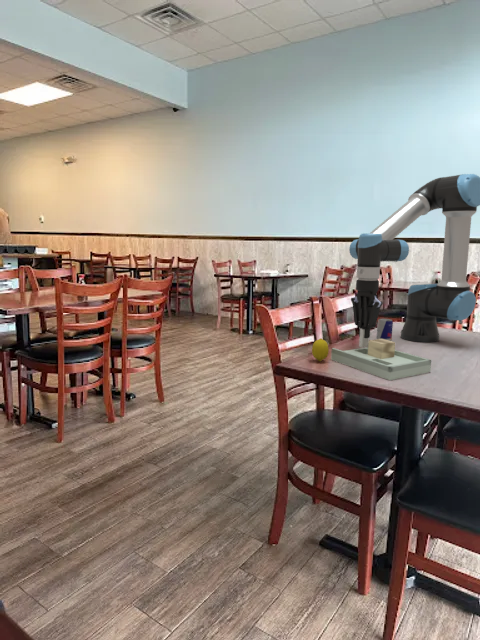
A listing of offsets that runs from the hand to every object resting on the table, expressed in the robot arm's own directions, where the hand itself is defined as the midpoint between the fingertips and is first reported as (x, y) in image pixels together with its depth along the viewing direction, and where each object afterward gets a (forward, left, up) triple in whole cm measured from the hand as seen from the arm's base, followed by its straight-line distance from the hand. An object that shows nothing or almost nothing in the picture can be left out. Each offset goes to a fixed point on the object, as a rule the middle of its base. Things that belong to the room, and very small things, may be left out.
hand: (363, 346), depth 157 cm
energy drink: (-13, -3, -4) cm, 14 cm away
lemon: (+17, -3, -4) cm, 18 cm away
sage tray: (+3, +10, -4) cm, 11 cm away
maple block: (0, +8, -1) cm, 8 cm away
